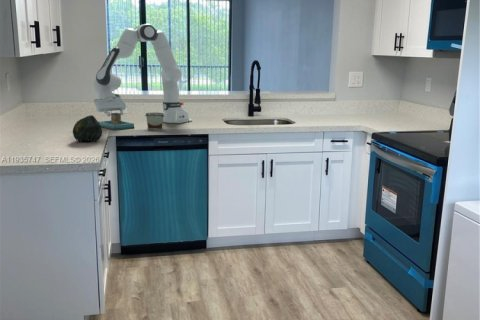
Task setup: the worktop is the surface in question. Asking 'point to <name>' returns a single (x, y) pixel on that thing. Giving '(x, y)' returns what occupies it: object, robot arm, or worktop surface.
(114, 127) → the tray
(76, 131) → the squash
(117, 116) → the walnut block
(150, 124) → the food container
